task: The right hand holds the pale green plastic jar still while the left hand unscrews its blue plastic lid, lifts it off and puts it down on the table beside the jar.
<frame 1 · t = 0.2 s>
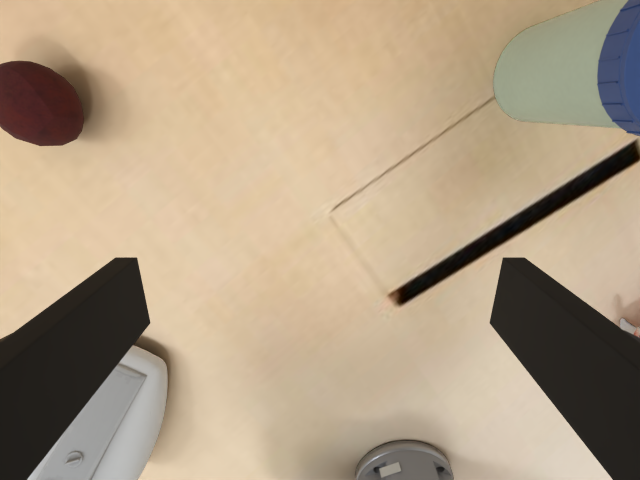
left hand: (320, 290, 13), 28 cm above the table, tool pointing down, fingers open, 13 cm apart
projector: (116, 397, 51), on the table
potato: (64, 106, 37), on the table
jar: (538, 74, 36), on the table
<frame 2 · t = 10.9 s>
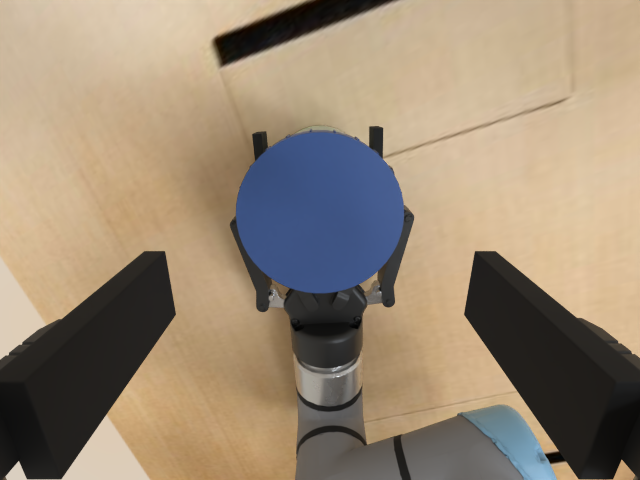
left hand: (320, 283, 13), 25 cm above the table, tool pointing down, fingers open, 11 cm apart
right hand: (317, 130, 30), fingers closed on jar, 9 cm apart
lid: (319, 218, 21), point 17 cm above the table, screwed on, not yet turned
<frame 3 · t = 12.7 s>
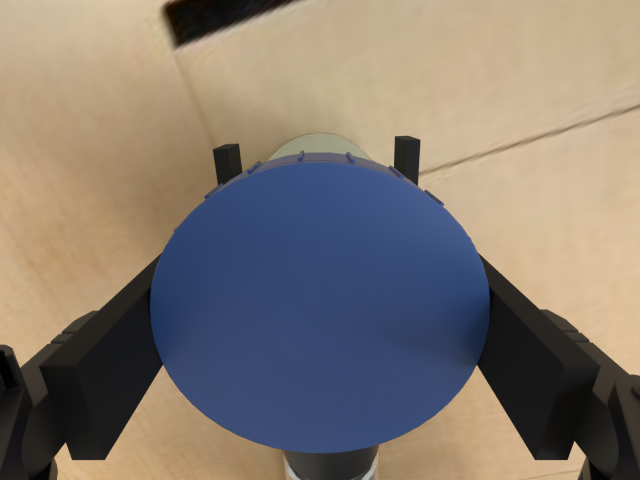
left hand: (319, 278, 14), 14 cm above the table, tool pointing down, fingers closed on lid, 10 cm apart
lid: (320, 326, 11), point 17 cm above the table, screwed on, not yet turned, touching left hand
jar: (320, 195, 26), on the table, touching right hand
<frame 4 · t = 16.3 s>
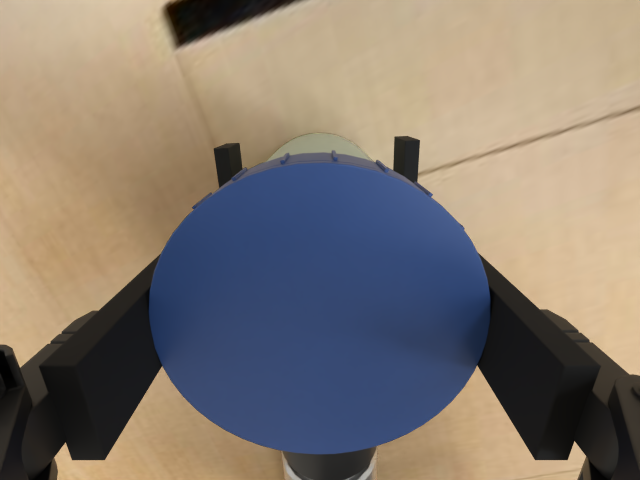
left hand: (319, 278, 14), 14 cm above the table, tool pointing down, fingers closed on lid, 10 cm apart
lid: (319, 327, 11), point 17 cm above the table, turned 115° so far, risen 0.2 cm, still on its thread, touching left hand
jar: (319, 195, 27), on the table, touching right hand
when the left hand's fingers open (0 cm above the table, at t = 30.2 s): lid drops 2 cm, point 2 cm above the table.
when the right hand's fingers open (6 cm above the table, at t = 31.2 s): jar stays where it is, on the table.
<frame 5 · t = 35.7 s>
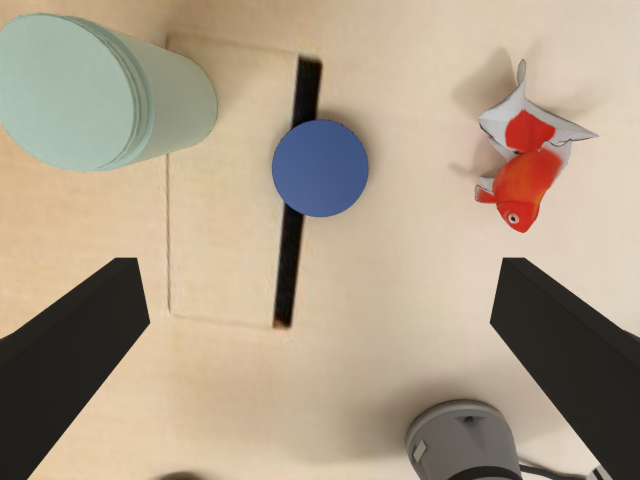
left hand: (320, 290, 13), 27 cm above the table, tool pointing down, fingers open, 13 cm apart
lid: (320, 170, 37), point 2 cm above the table, off its thread
fish: (499, 143, 37), on the table
jar: (173, 102, 36), on the table
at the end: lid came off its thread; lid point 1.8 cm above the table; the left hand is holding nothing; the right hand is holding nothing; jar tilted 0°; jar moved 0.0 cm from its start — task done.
